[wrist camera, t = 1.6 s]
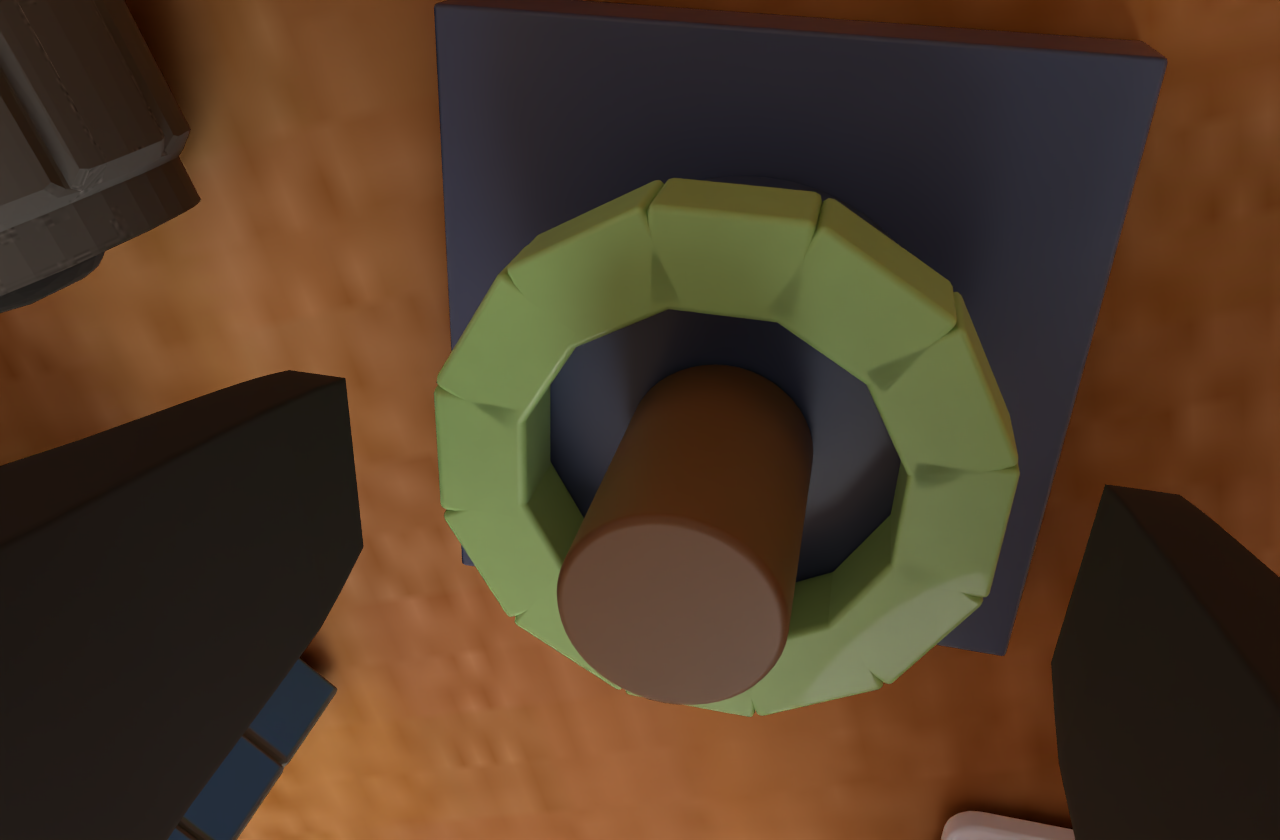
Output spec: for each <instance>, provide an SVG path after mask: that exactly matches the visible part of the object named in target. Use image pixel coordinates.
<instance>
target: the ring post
mask: <svg viewBox="0 0 1280 840" xmlns="http://www.w3.org/2000/svg"><path fill="white" fill-rule="evenodd" d="M434 15H435V35H436V55H437V74H438V94H439V114H440V134H441V153H442V173H443V193H444V212H445V232H446V252H447V272H448V291H449V311H450V331H451V350H453V349H454V347H455V345H456V344H457V342H458V340H459V339H460V337H461V335H462V334H463V332H464V330H465V329H466V327H467V325H468V324H469V322H470V320H471V319H472V317H473V315H474V314H475V312H476V310H477V309H478V307H479V305H480V304H481V302H482V300H483V299H484V297H485V295H486V294H487V292H488V290H489V289H490V287H491V285H492V284H493V282H494V280H495V279H496V277H497V275H498V274H499V273H500V272H501V271H502V270H503V269H504V268H505V267H506V266H507V265H508V264H509V263H510V262H511V261H512V260H513V259H514V258H515V257H516V256H517V255H518V254H519V253H520V252H521V250H522V249H523V248H524V247H526V246H527V245H529V244H530V243H531V242H532V241H533V240H534V238H535V237H536V236H537V235H539V234H541V233H543V232H546V231H548V230H550V229H552V228H554V227H556V226H558V225H561V224H563V223H565V222H567V221H569V220H571V219H573V218H575V217H578V216H580V215H582V214H584V213H586V212H588V211H590V210H593V209H595V208H597V207H599V206H601V205H603V204H605V203H608V202H610V201H612V200H614V199H616V198H618V197H620V196H622V195H625V194H627V193H629V192H631V191H633V190H635V189H637V188H640V187H642V186H644V185H646V184H648V183H650V182H652V181H655V180H661V181H662V182H663V183H664V185H665V183H666V182H667V180H668V179H671V178H682V179H692V180H702V181H712V182H722V183H732V184H742V185H752V186H762V187H772V188H782V189H792V190H802V191H812V192H816V193H818V194H820V195H821V199H822V202H823V201H824V200H826V199H828V198H831V199H835V200H837V201H838V202H839V203H841V204H842V205H844V206H845V207H846V208H848V209H849V210H851V211H852V212H853V213H855V214H856V215H858V216H859V217H860V218H862V219H863V220H865V221H866V222H867V223H869V224H870V225H872V226H873V227H874V228H876V229H877V230H879V231H880V232H881V233H883V234H884V235H886V236H887V237H888V238H890V239H891V240H893V241H894V242H895V243H897V244H898V245H900V246H901V247H902V248H904V249H905V250H907V251H908V252H909V253H911V254H912V255H914V256H915V257H916V258H918V259H919V260H921V261H922V262H923V263H925V264H926V265H928V266H929V267H930V268H932V269H933V270H935V271H936V272H937V273H939V274H940V275H941V276H943V277H944V278H946V279H947V280H948V281H950V283H951V285H952V286H953V292H958V293H959V294H960V295H961V296H962V298H963V300H964V303H965V305H966V308H967V310H968V313H969V315H970V318H971V320H972V323H973V325H974V327H975V330H976V332H977V335H978V337H979V340H980V342H981V345H982V347H983V350H984V352H985V355H986V357H987V360H988V362H989V365H990V367H991V370H992V372H993V375H994V377H995V380H996V382H997V385H998V387H999V389H1000V392H1001V394H1002V397H1003V399H1004V402H1005V404H1006V407H1007V409H1008V412H1009V414H1010V419H1011V424H1012V429H1013V434H1014V438H1015V443H1016V448H1017V453H1018V466H1019V471H1020V476H1019V480H1018V484H1017V488H1016V492H1015V495H1014V499H1013V503H1012V507H1011V511H1010V515H1009V519H1008V523H1007V527H1006V531H1005V535H1004V539H1003V543H1002V547H1001V550H1000V554H999V558H998V562H997V566H996V570H995V574H994V578H993V582H992V586H991V590H990V593H989V595H988V596H987V597H983V602H982V604H981V606H980V607H979V608H978V609H976V610H975V611H974V612H973V613H972V614H971V615H970V616H968V617H967V618H966V619H965V620H964V621H963V622H961V623H960V624H959V625H958V626H957V627H956V628H955V629H953V630H952V631H951V632H950V633H949V634H948V635H947V636H945V637H944V638H943V639H942V640H941V641H940V642H939V643H937V644H936V645H941V646H947V647H953V648H958V649H964V650H970V651H976V652H982V653H988V654H994V655H1000V656H1004V655H1005V654H1006V652H1007V648H1008V644H1009V641H1010V637H1011V633H1012V630H1013V626H1014V622H1015V619H1016V615H1017V611H1018V608H1019V604H1020V600H1021V597H1022V593H1023V589H1024V586H1025V582H1026V578H1027V575H1028V571H1029V567H1030V564H1031V560H1032V557H1033V553H1034V549H1035V546H1036V542H1037V538H1038V535H1039V531H1040V527H1041V524H1042V520H1043V516H1044V513H1045V509H1046V505H1047V502H1048V498H1049V494H1050V491H1051V487H1052V483H1053V480H1054V476H1055V472H1056V469H1057V465H1058V462H1059V458H1060V454H1061V451H1062V447H1063V443H1064V440H1065V436H1066V432H1067V429H1068V425H1069V421H1070V418H1071V414H1072V410H1073V407H1074V403H1075V399H1076V396H1077V392H1078V388H1079V385H1080V381H1081V377H1082V374H1083V370H1084V367H1085V363H1086V359H1087V356H1088V352H1089V348H1090V345H1091V341H1092V337H1093V334H1094V330H1095V326H1096V323H1097V319H1098V315H1099V312H1100V308H1101V304H1102V301H1103V297H1104V293H1105V290H1106V286H1107V282H1108V279H1109V275H1110V272H1111V268H1112V264H1113V261H1114V257H1115V253H1116V250H1117V246H1118V242H1119V239H1120V235H1121V231H1122V228H1123V224H1124V220H1125V217H1126V213H1127V209H1128V206H1129V202H1130V198H1131V195H1132V191H1133V188H1134V184H1135V180H1136V177H1137V173H1138V169H1139V166H1140V162H1141V158H1142V155H1143V151H1144V147H1145V144H1146V140H1147V136H1148V133H1149V129H1150V125H1151V122H1152V118H1153V114H1154V111H1155V107H1156V103H1157V100H1158V96H1159V93H1160V89H1161V85H1162V82H1163V78H1164V74H1165V71H1166V67H1167V58H1165V57H1164V56H1162V55H1161V54H1160V53H1158V52H1157V51H1156V50H1154V49H1153V48H1151V47H1150V46H1149V45H1147V44H1146V43H1144V42H1142V41H1133V40H1119V39H1105V38H1092V37H1078V36H1064V35H1050V34H1036V33H1022V32H1009V31H995V30H981V29H967V28H953V27H939V26H926V25H912V24H898V23H884V22H870V21H856V20H843V19H829V18H815V17H801V16H787V15H774V14H760V13H746V12H732V11H718V10H704V9H691V8H677V7H663V6H649V5H635V4H621V3H608V2H594V1H580V0H446V1H443V2H439V3H437V4H435V6H434ZM550 461H551V463H552V465H553V467H554V468H555V470H556V472H557V473H558V475H559V477H560V478H561V480H562V482H563V483H564V485H565V487H566V489H567V490H568V492H569V494H570V495H571V497H572V499H573V500H574V502H575V504H576V505H577V507H578V509H579V511H580V512H581V514H582V516H583V517H584V520H583V522H582V524H581V526H580V528H579V530H578V532H577V534H576V536H575V539H574V541H573V543H572V545H571V547H570V549H569V551H568V553H567V555H566V557H565V560H564V562H563V564H562V566H561V569H560V573H559V577H558V582H557V604H558V609H559V614H560V618H561V622H562V624H563V627H564V630H565V632H566V634H567V636H568V638H569V640H570V641H571V643H572V645H573V646H574V647H575V649H576V650H577V652H578V653H579V654H580V655H581V657H582V658H583V659H584V660H585V661H586V662H587V663H588V664H589V665H590V666H591V667H592V668H593V669H594V670H595V671H597V672H598V673H599V674H600V675H602V676H603V677H604V678H606V679H607V680H609V681H610V682H612V683H614V684H615V685H617V686H619V687H620V688H622V689H624V690H627V691H629V692H631V693H633V694H635V695H638V696H641V697H644V698H647V699H650V700H655V701H659V702H663V703H670V704H679V705H698V704H708V703H714V702H719V701H722V700H726V699H729V698H732V697H734V696H736V695H739V694H741V693H743V692H745V691H746V690H748V689H750V688H751V687H753V686H754V685H756V684H757V683H758V682H759V681H760V680H762V679H763V678H764V677H765V676H766V675H767V674H768V673H769V671H770V670H771V669H772V668H773V667H774V666H775V664H776V663H777V661H778V660H779V658H780V656H781V655H782V652H783V650H784V647H785V645H786V641H787V637H788V633H789V626H790V619H791V612H792V604H793V597H794V590H795V583H796V582H799V581H802V580H806V579H809V578H813V577H816V576H820V575H824V574H827V573H831V572H834V571H835V570H836V569H837V568H838V567H839V566H840V565H841V564H842V563H843V562H844V561H845V560H846V559H847V558H848V557H849V556H850V555H851V554H852V553H853V552H854V551H855V550H856V549H857V548H858V547H859V546H860V545H861V544H862V543H863V542H864V541H865V540H866V539H867V538H868V537H869V536H870V535H871V534H872V533H873V532H874V531H875V530H876V529H877V528H878V527H879V526H880V525H881V524H882V523H883V522H884V521H885V520H886V519H887V518H888V517H889V516H890V515H891V511H892V505H893V500H894V495H895V489H896V484H897V479H898V473H899V468H900V463H901V460H900V458H899V455H898V453H897V451H896V449H895V447H894V444H893V442H892V440H891V438H890V436H889V433H888V431H887V429H886V427H885V425H884V422H883V420H882V418H881V416H880V413H879V411H878V409H877V407H876V405H875V402H874V400H873V398H872V396H871V394H870V391H869V389H868V387H867V385H866V384H865V383H863V382H862V381H861V380H859V379H858V378H856V377H855V376H853V375H852V374H851V373H849V372H848V371H846V370H845V369H843V368H842V367H841V366H839V365H838V364H836V363H835V362H833V361H832V360H830V359H829V358H828V357H826V356H825V355H823V354H822V353H820V352H819V351H818V350H816V349H815V348H813V347H812V346H810V345H809V344H808V343H806V342H805V341H803V340H802V339H800V338H799V337H797V336H796V335H795V334H793V333H792V332H790V331H789V330H787V329H786V328H785V327H783V326H782V325H780V324H779V323H777V322H771V321H762V320H754V319H746V318H738V317H730V316H721V315H713V314H705V313H697V312H689V311H680V310H672V309H668V310H666V311H663V312H661V313H658V314H656V315H653V316H651V317H648V318H646V319H644V320H641V321H639V322H636V323H634V324H631V325H629V326H627V327H624V328H622V329H619V330H617V331H614V332H612V333H610V334H607V335H605V336H602V337H600V338H597V339H595V340H592V341H590V342H588V343H585V344H583V345H580V346H578V347H576V348H575V349H574V351H573V352H572V354H571V355H570V357H569V358H568V360H567V361H566V363H565V364H564V366H563V367H562V369H561V370H560V372H559V373H558V374H557V376H556V377H555V379H554V380H553V382H552V383H551V385H550ZM461 548H462V563H463V564H465V565H470V566H475V565H474V563H473V562H472V560H471V559H470V557H469V556H468V554H467V552H466V551H465V549H464V548H463V546H462V545H461ZM475 567H476V566H475Z"/></svg>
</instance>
